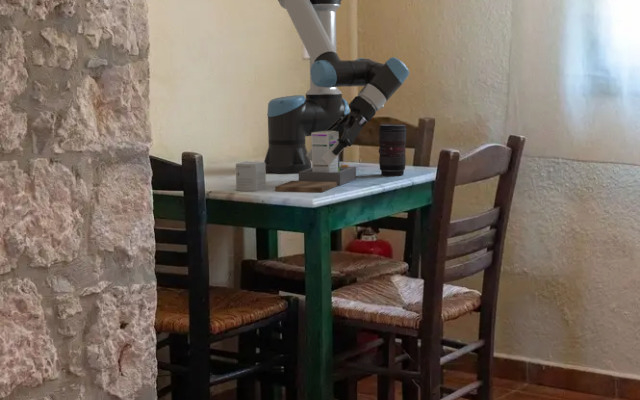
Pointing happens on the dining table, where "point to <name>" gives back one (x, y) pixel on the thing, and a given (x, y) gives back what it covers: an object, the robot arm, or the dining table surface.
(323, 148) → the syrup box
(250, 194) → the dining table surface
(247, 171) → the product box
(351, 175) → the grey frame with knob
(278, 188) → the walnut board
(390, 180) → the dining table surface
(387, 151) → the camera lens
